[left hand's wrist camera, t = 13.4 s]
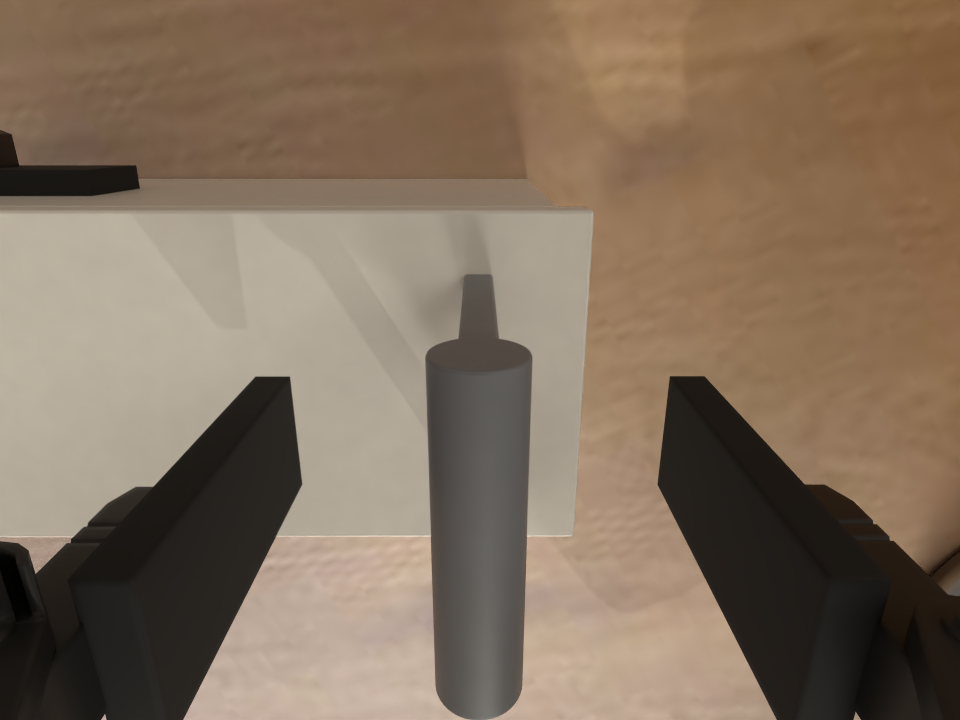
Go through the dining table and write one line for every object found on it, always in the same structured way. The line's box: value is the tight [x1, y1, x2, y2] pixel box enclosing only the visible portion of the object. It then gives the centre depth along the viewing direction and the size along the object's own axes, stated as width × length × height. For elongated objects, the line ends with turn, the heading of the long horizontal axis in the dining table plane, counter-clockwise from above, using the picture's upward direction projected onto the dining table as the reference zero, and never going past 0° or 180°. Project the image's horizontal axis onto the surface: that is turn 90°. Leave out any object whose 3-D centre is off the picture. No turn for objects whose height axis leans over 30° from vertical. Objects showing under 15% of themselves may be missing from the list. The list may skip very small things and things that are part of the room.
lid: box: [0, 206, 594, 720], centre depth 13 cm, size 18×9×8 cm, turn 90°
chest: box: [0, 179, 557, 207], centre depth 22 cm, size 18×9×10 cm, turn 90°
